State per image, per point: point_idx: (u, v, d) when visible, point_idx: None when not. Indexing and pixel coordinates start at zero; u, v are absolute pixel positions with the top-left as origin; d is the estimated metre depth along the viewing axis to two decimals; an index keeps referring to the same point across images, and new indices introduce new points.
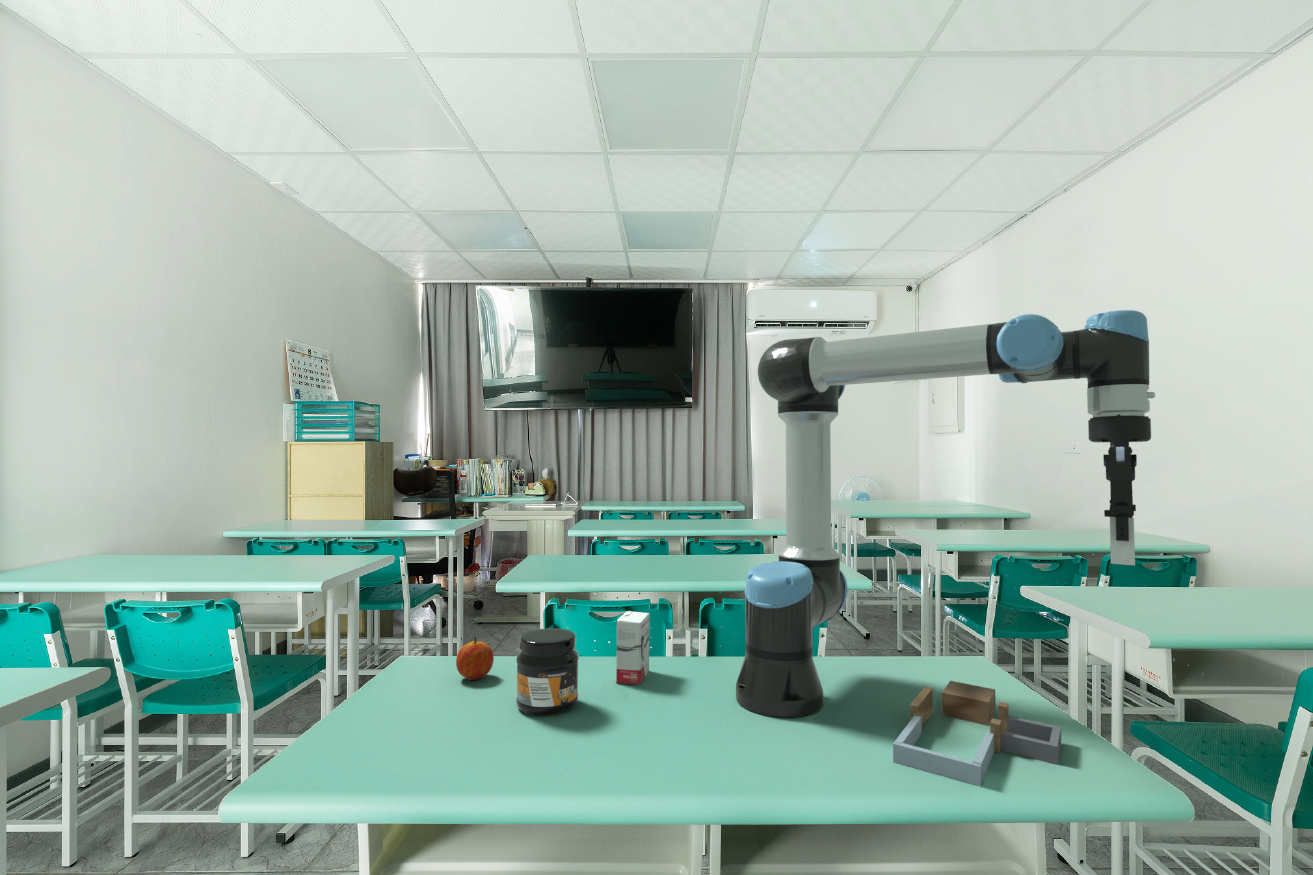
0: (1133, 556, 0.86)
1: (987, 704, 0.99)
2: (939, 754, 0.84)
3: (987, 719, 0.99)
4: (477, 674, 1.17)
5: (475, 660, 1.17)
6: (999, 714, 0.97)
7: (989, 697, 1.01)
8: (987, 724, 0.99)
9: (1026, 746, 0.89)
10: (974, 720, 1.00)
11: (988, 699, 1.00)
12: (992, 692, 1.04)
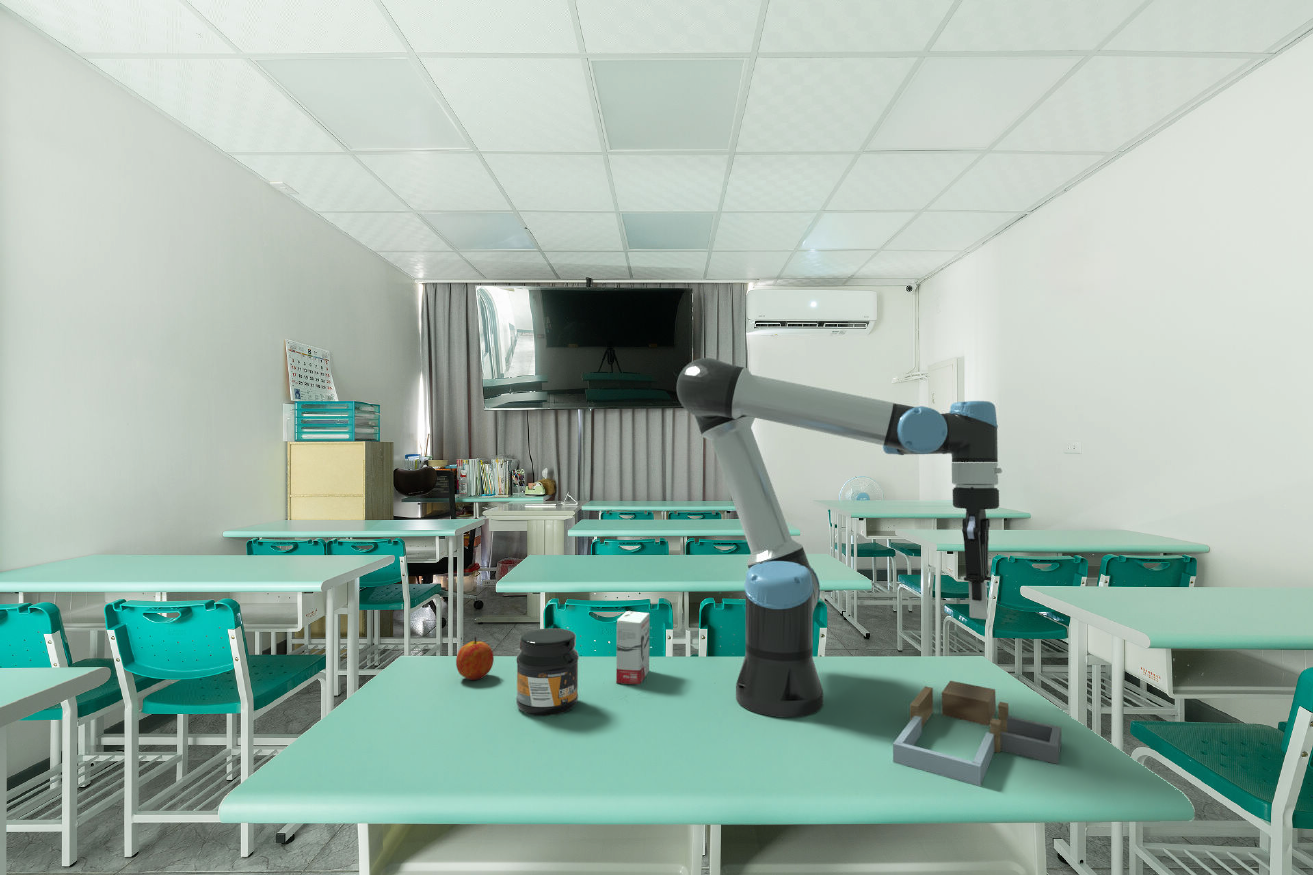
0: (985, 612, 1.11)
1: (987, 704, 0.99)
2: (939, 754, 0.84)
3: (987, 719, 0.99)
4: (477, 674, 1.17)
5: (475, 660, 1.17)
6: (999, 714, 0.97)
7: (989, 697, 1.01)
8: (987, 724, 0.99)
9: (1026, 746, 0.89)
10: (974, 720, 1.00)
11: (988, 699, 1.00)
12: (992, 692, 1.04)
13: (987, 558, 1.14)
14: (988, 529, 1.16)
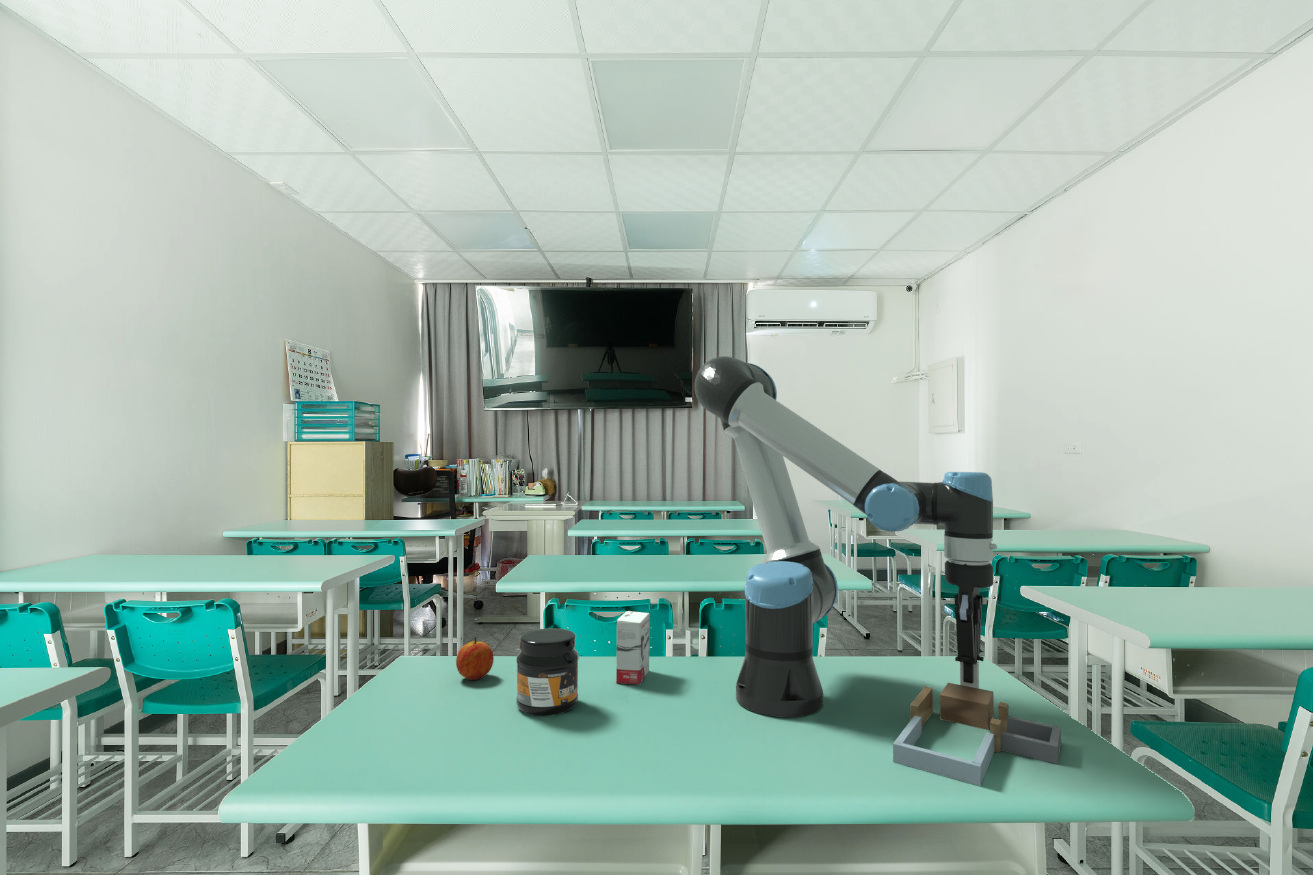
0: None
1: (986, 707, 0.98)
2: (939, 754, 0.84)
3: (986, 722, 0.98)
4: (477, 674, 1.17)
5: (475, 660, 1.17)
6: (999, 714, 0.97)
7: (988, 699, 1.00)
8: (986, 727, 0.98)
9: (1026, 746, 0.89)
10: (973, 723, 0.99)
11: (987, 701, 0.99)
12: (990, 694, 1.02)
13: (979, 635, 1.09)
14: None
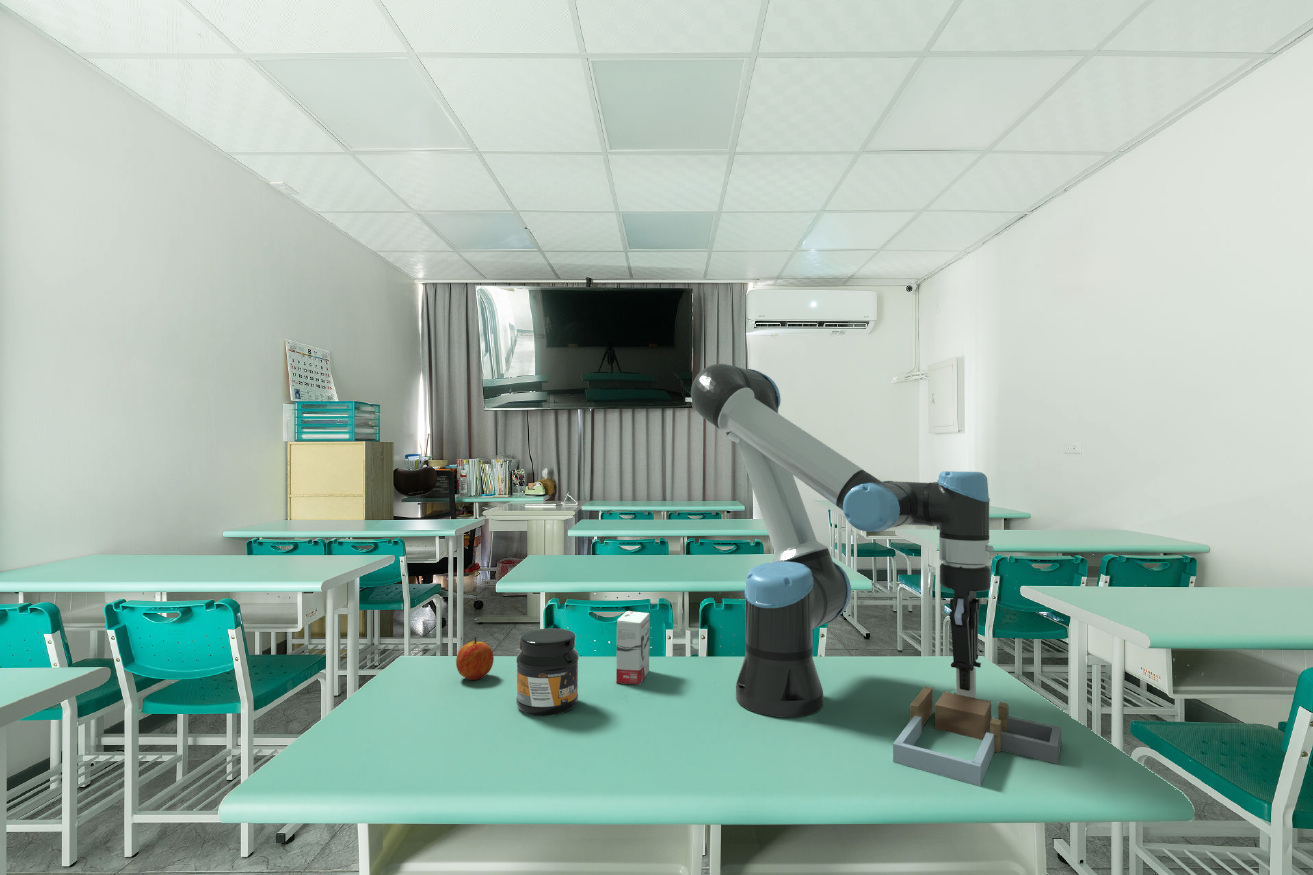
0: None
1: (983, 718, 0.94)
2: (939, 754, 0.84)
3: (983, 733, 0.94)
4: (477, 674, 1.17)
5: (475, 660, 1.17)
6: (999, 714, 0.97)
7: (985, 710, 0.96)
8: None
9: (1026, 746, 0.89)
10: (969, 734, 0.95)
11: (984, 712, 0.95)
12: (988, 704, 0.98)
13: (977, 641, 1.05)
14: None
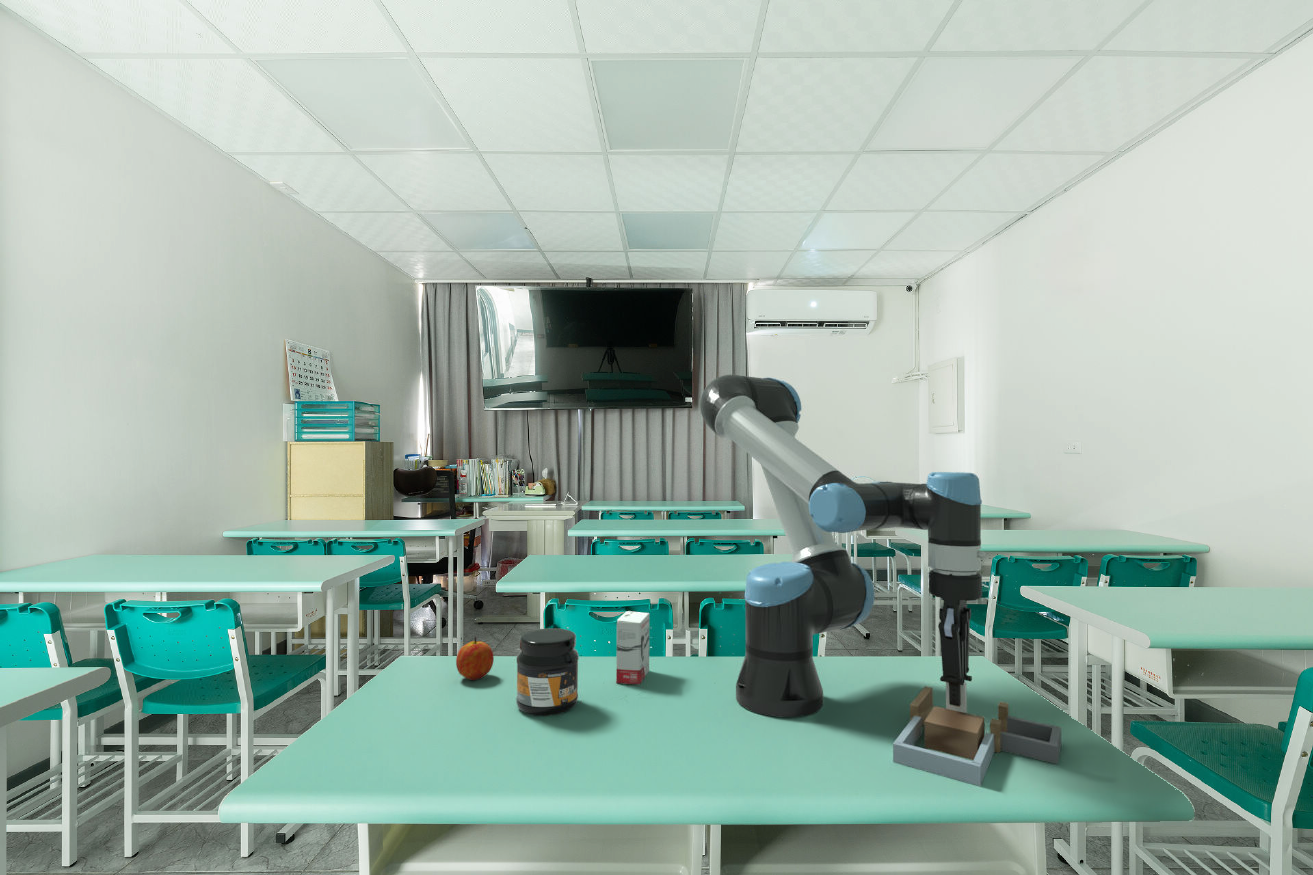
0: None
1: (975, 736, 0.88)
2: (939, 754, 0.84)
3: (975, 753, 0.88)
4: (477, 674, 1.17)
5: (475, 660, 1.17)
6: (999, 714, 0.97)
7: (978, 727, 0.90)
8: None
9: (1026, 746, 0.89)
10: (961, 753, 0.89)
11: (976, 729, 0.89)
12: (981, 720, 0.92)
13: (967, 652, 0.99)
14: None
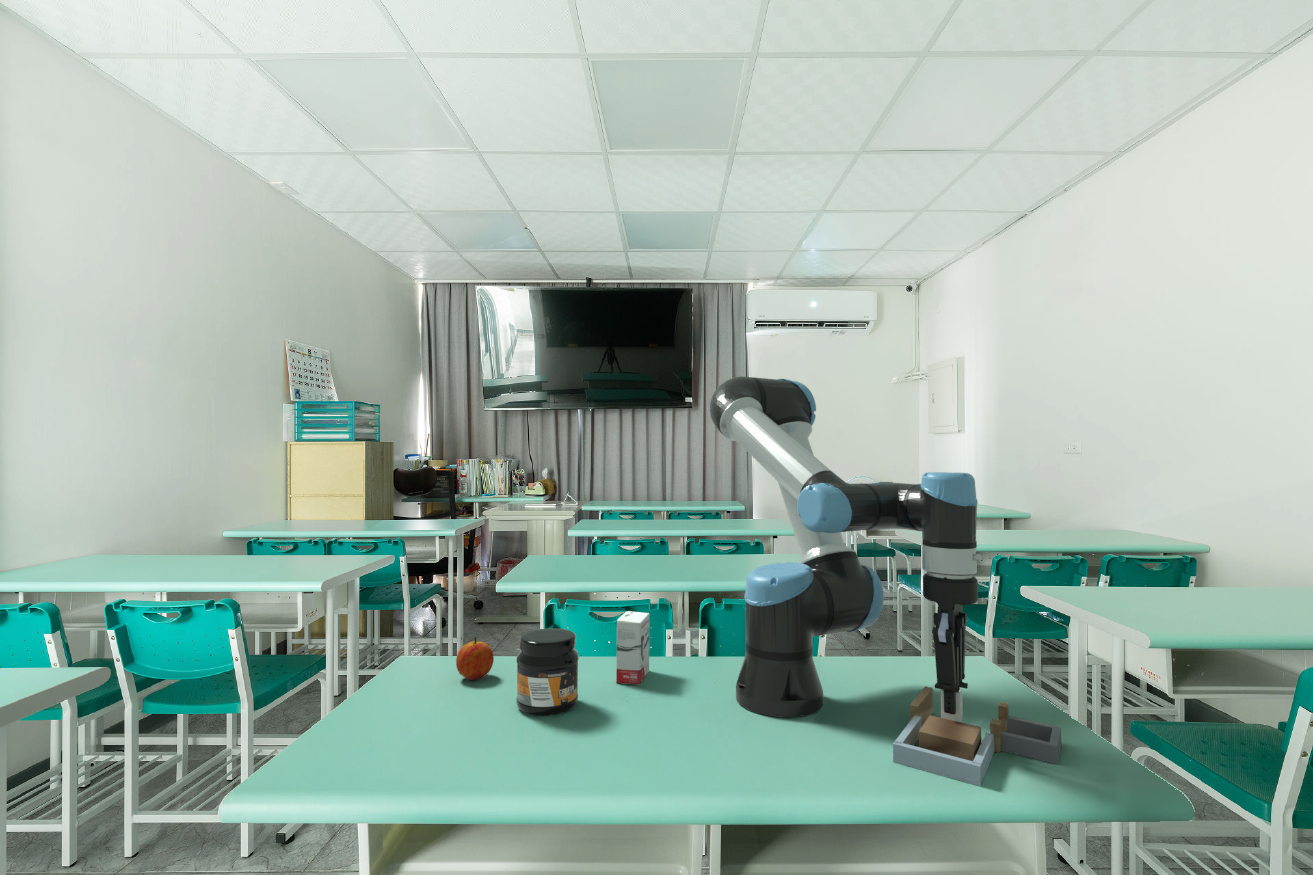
0: None
1: (971, 747, 0.84)
2: (939, 754, 0.84)
3: None
4: (477, 674, 1.17)
5: (475, 660, 1.17)
6: (999, 714, 0.97)
7: (974, 738, 0.86)
8: None
9: (1026, 746, 0.89)
10: None
11: (972, 740, 0.86)
12: (977, 731, 0.89)
13: (963, 659, 0.95)
14: None
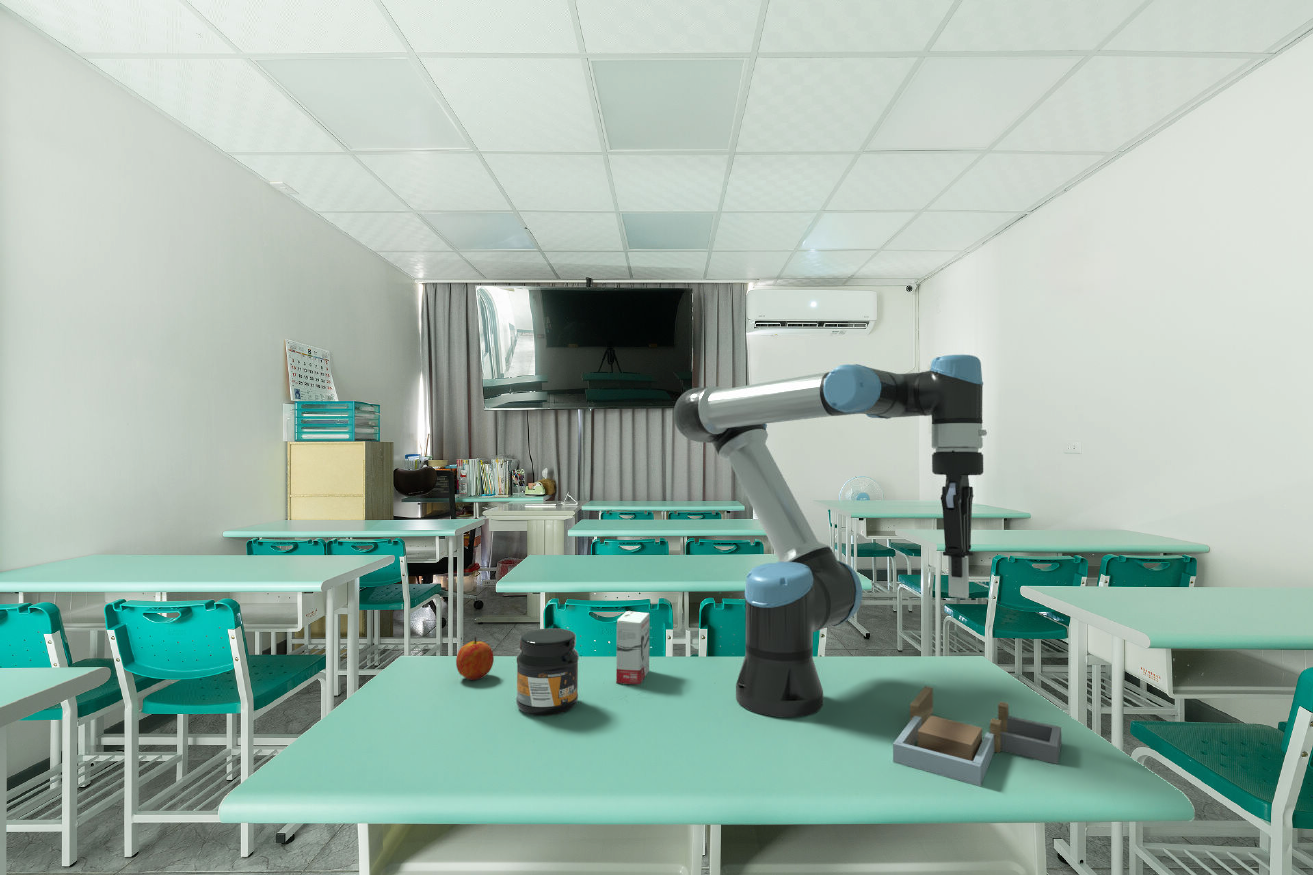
0: (965, 590, 0.99)
1: (969, 747, 0.84)
2: (939, 754, 0.84)
3: None
4: (477, 674, 1.17)
5: (475, 660, 1.17)
6: (999, 714, 0.97)
7: (973, 738, 0.86)
8: None
9: (1026, 746, 0.89)
10: None
11: (971, 741, 0.85)
12: (978, 732, 0.88)
13: (970, 531, 1.03)
14: (972, 499, 1.05)
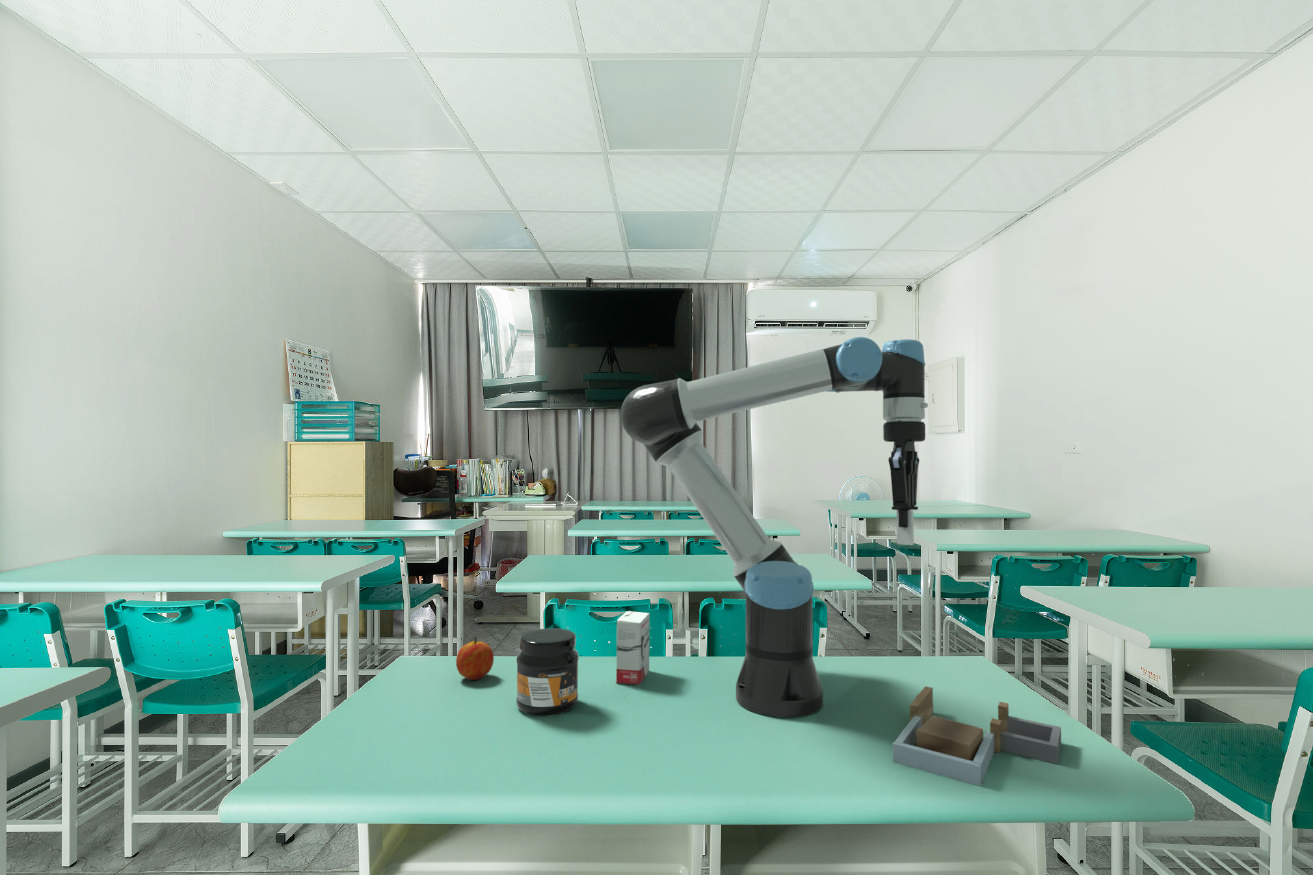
0: (910, 538, 1.17)
1: (968, 747, 0.84)
2: (939, 754, 0.84)
3: None
4: (477, 674, 1.17)
5: (475, 660, 1.17)
6: (999, 714, 0.97)
7: (972, 739, 0.86)
8: None
9: (1026, 746, 0.89)
10: None
11: (970, 741, 0.85)
12: (978, 732, 0.88)
13: (915, 490, 1.21)
14: (918, 463, 1.23)
